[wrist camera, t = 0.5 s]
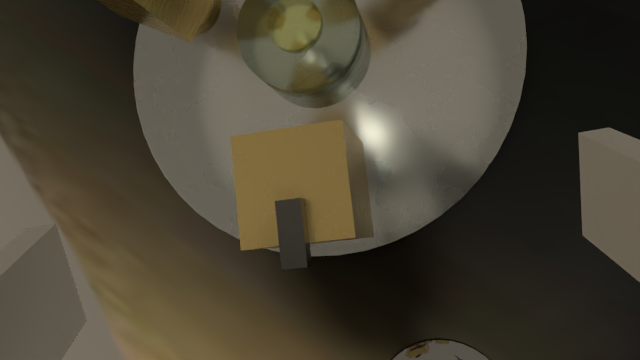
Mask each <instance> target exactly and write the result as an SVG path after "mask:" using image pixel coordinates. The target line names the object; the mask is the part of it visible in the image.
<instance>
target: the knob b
mask: <svg viewBox="0 0 640 360" xmlns="http://www.w3.org/2000/svg"><path fill="white" fill-rule="evenodd" d="M230 139H231V149H232V160H233V171H234V181H235V192H236V203H237V214H238V224H239V235H240V246H241V250H253V249H266V248H279V249H280V259H281V269H282V270H286V269H295V268H305V267H311V266H312V260H311V250H310V244H316V243H325V242H334V241H343V240H352V239H361V238H370V237H374V231H373V222H372V214H371V206H370V197H369V189H368V180H367V172H366V164H365V155H364V147H363V142H362V141H361V140H360V139H359V138H358V136H357V135H356V134H355V133H354V132H353V131H352V130H351V129H350V128H349V127H348V125H347V124H346V123H345V122H344V121H343V120H342V119H341V120H334V121H327V122H321V123H314V124H308V125H301V126H295V127H288V128H281V129H275V130H268V131H262V132H255V133H249V134H242V135H235V136H230Z"/></svg>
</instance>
